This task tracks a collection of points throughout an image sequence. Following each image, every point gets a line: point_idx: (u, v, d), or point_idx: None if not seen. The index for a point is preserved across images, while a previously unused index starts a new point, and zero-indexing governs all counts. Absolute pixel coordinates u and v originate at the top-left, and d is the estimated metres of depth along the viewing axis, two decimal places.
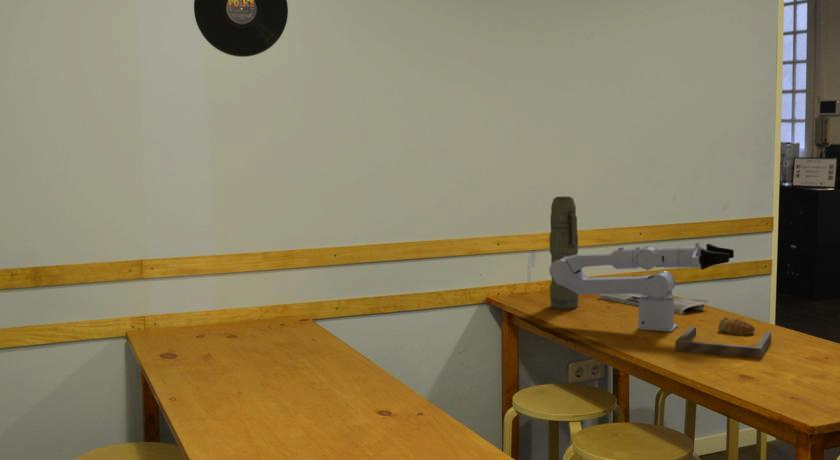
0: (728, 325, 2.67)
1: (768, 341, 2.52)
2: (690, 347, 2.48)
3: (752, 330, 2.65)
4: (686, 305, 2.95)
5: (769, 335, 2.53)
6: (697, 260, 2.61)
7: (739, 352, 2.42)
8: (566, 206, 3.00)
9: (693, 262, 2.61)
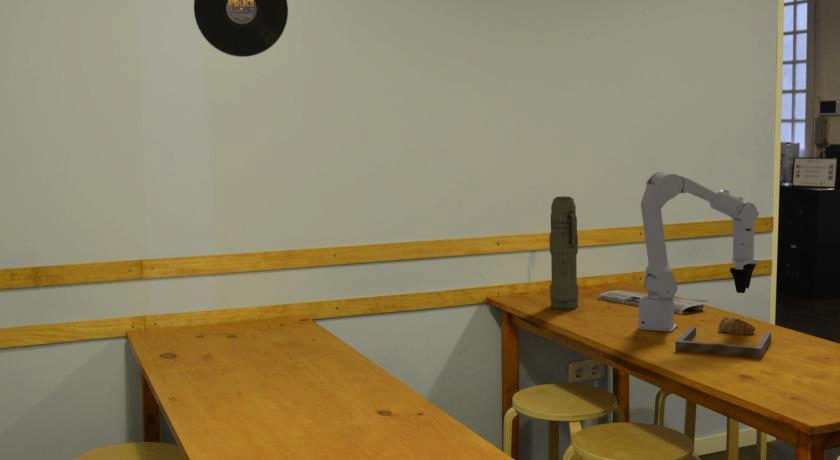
0: (728, 325, 2.67)
1: (768, 341, 2.52)
2: (690, 347, 2.48)
3: (752, 330, 2.65)
4: (685, 305, 2.95)
5: (769, 335, 2.53)
6: (739, 268, 2.71)
7: (739, 352, 2.42)
8: (566, 206, 3.00)
9: (737, 264, 2.71)
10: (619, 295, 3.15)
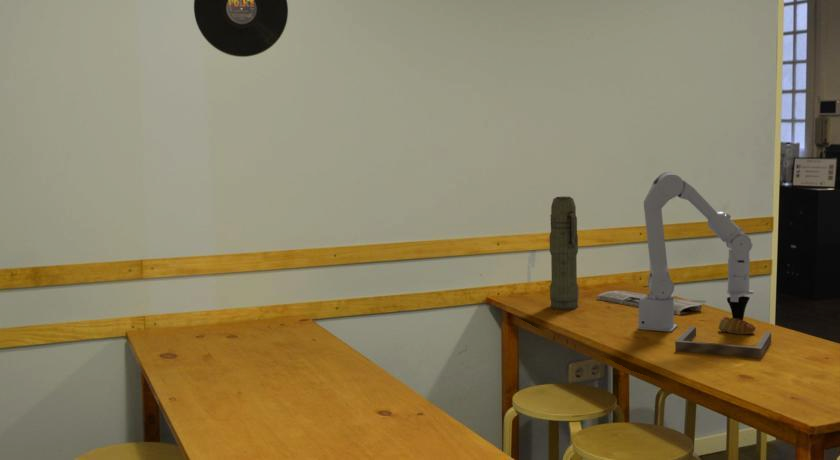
0: (729, 324, 2.67)
1: (768, 341, 2.52)
2: (690, 347, 2.48)
3: (753, 329, 2.65)
4: (683, 306, 2.94)
5: (769, 335, 2.53)
6: (734, 300, 2.65)
7: (739, 352, 2.42)
8: (566, 206, 3.00)
9: (732, 296, 2.65)
10: (618, 295, 3.14)
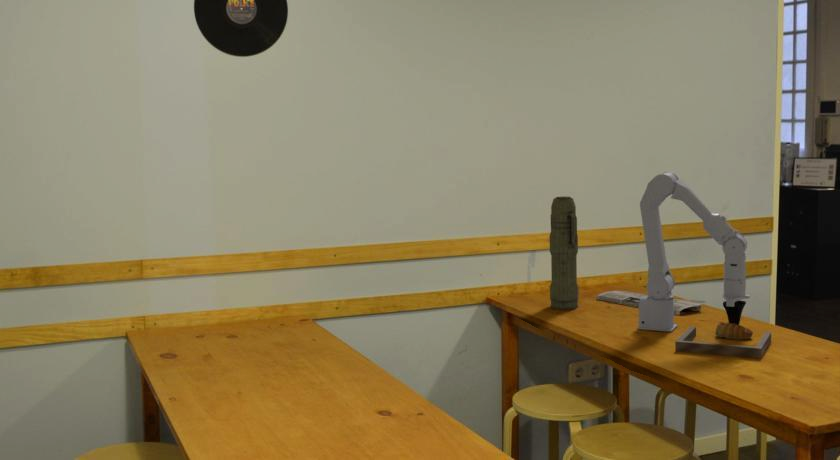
0: (726, 329, 2.61)
1: (768, 341, 2.52)
2: (690, 347, 2.48)
3: (751, 334, 2.60)
4: (683, 306, 2.94)
5: (769, 335, 2.53)
6: (730, 305, 2.59)
7: (739, 352, 2.42)
8: (566, 206, 3.00)
9: (728, 301, 2.59)
10: (617, 295, 3.14)
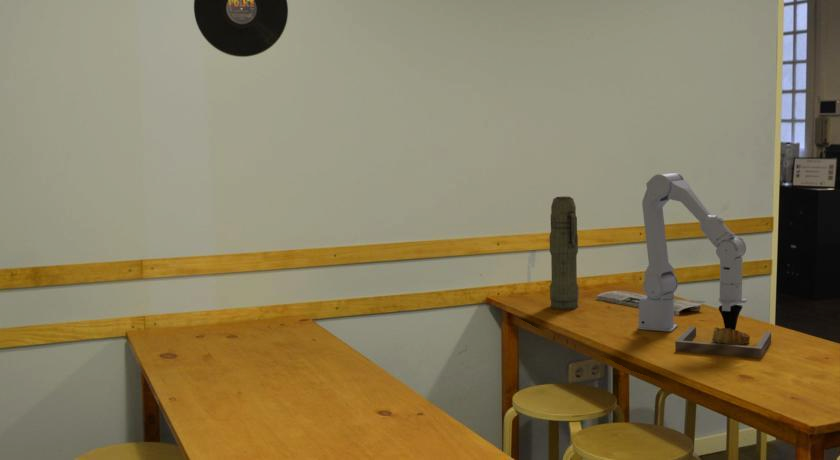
0: (725, 335, 2.55)
1: (768, 341, 2.52)
2: (690, 347, 2.48)
3: (749, 338, 2.55)
4: (682, 306, 2.94)
5: (769, 335, 2.53)
6: (726, 310, 2.54)
7: (739, 352, 2.42)
8: (566, 206, 3.00)
9: (724, 305, 2.54)
10: (617, 296, 3.14)
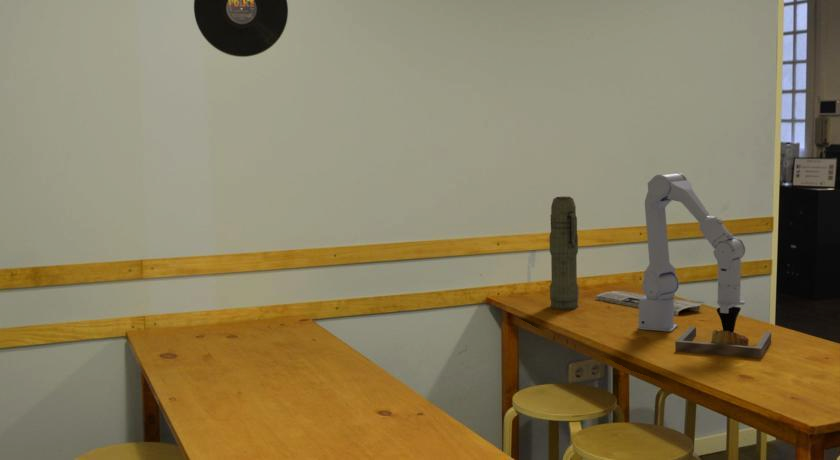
0: (724, 337, 2.53)
1: (768, 341, 2.52)
2: (690, 347, 2.48)
3: (747, 341, 2.53)
4: (681, 306, 2.93)
5: (769, 335, 2.53)
6: (724, 312, 2.51)
7: (739, 352, 2.42)
8: (566, 206, 3.00)
9: (722, 307, 2.52)
10: (616, 296, 3.14)
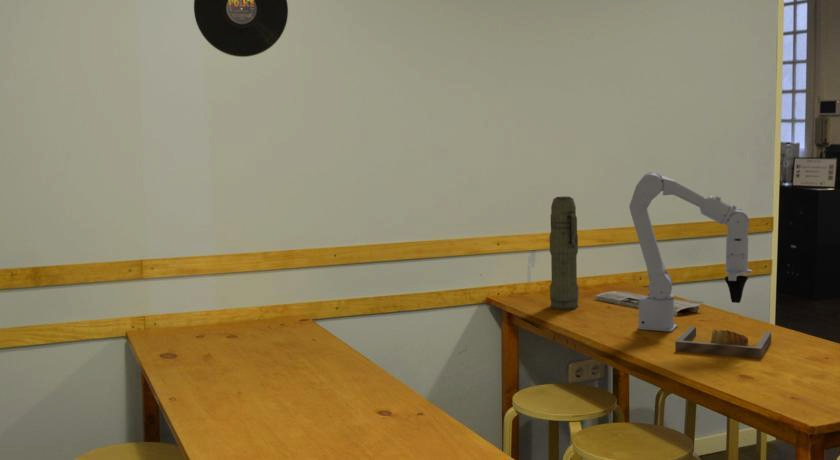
0: (723, 337, 2.53)
1: (768, 341, 2.52)
2: (690, 347, 2.48)
3: (747, 340, 2.53)
4: (680, 307, 2.93)
5: (769, 335, 2.53)
6: (732, 279, 2.61)
7: (739, 352, 2.42)
8: (566, 206, 3.00)
9: (730, 275, 2.61)
10: (615, 296, 3.13)
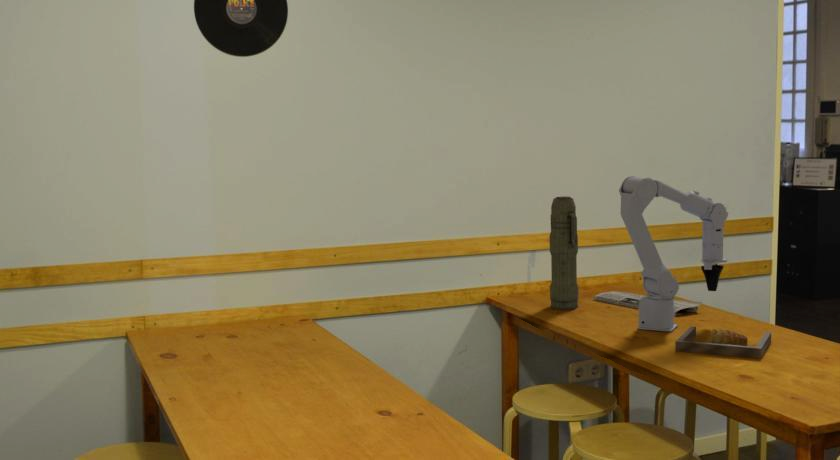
0: (723, 337, 2.53)
1: (768, 341, 2.52)
2: (690, 347, 2.48)
3: None
4: (679, 307, 2.93)
5: (769, 335, 2.53)
6: (707, 268, 2.72)
7: (739, 352, 2.42)
8: (566, 206, 3.00)
9: (705, 264, 2.72)
10: (614, 296, 3.13)
